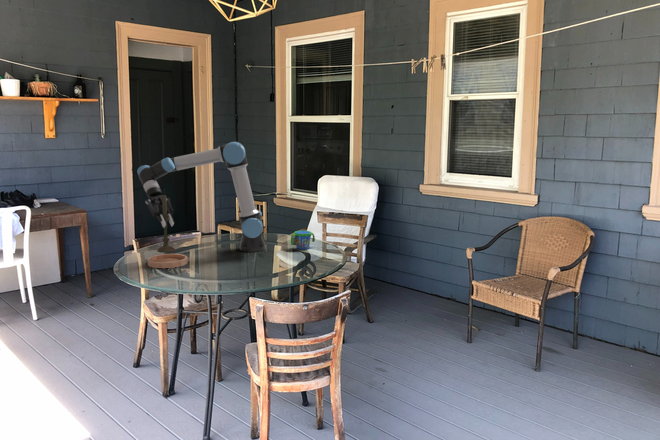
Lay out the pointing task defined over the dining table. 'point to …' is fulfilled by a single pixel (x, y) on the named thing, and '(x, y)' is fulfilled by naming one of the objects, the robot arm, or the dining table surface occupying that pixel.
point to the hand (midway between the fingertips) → (168, 225)
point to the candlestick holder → (165, 229)
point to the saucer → (167, 261)
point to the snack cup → (302, 239)
